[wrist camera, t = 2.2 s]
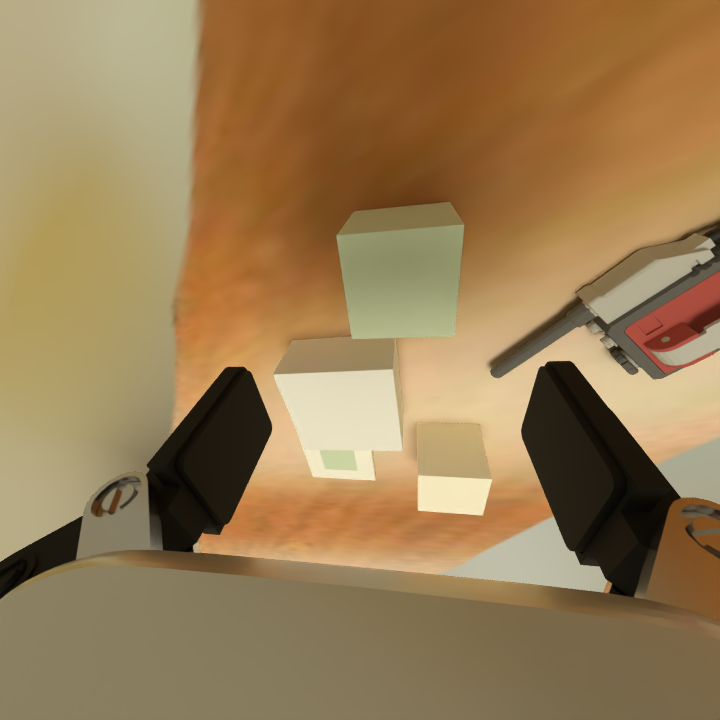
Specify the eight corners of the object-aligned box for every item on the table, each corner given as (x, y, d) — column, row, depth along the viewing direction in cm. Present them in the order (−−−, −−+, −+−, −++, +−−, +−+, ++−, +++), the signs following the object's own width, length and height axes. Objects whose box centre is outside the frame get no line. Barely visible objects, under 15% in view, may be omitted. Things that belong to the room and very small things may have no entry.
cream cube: (416, 422, 30) (417, 475, 26) (478, 423, 29) (491, 479, 24) (416, 458, 34) (417, 510, 29) (471, 460, 33) (482, 515, 28)
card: (299, 432, 34) (298, 436, 33) (369, 434, 32) (369, 438, 32) (314, 473, 38) (312, 477, 38) (375, 476, 37) (375, 481, 36)
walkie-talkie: (820, 107, 14) (479, 358, 25) (956, 97, 11) (491, 394, 22) (877, 228, 17) (544, 409, 27) (1004, 253, 13) (565, 449, 24)
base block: (293, 338, 26) (272, 374, 22) (395, 331, 24) (392, 369, 20) (317, 410, 31) (304, 449, 27) (403, 408, 30) (402, 450, 26)
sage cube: (353, 211, 19) (336, 235, 14) (449, 201, 18) (464, 224, 13) (363, 296, 23) (351, 339, 18) (444, 292, 22) (454, 336, 17)
